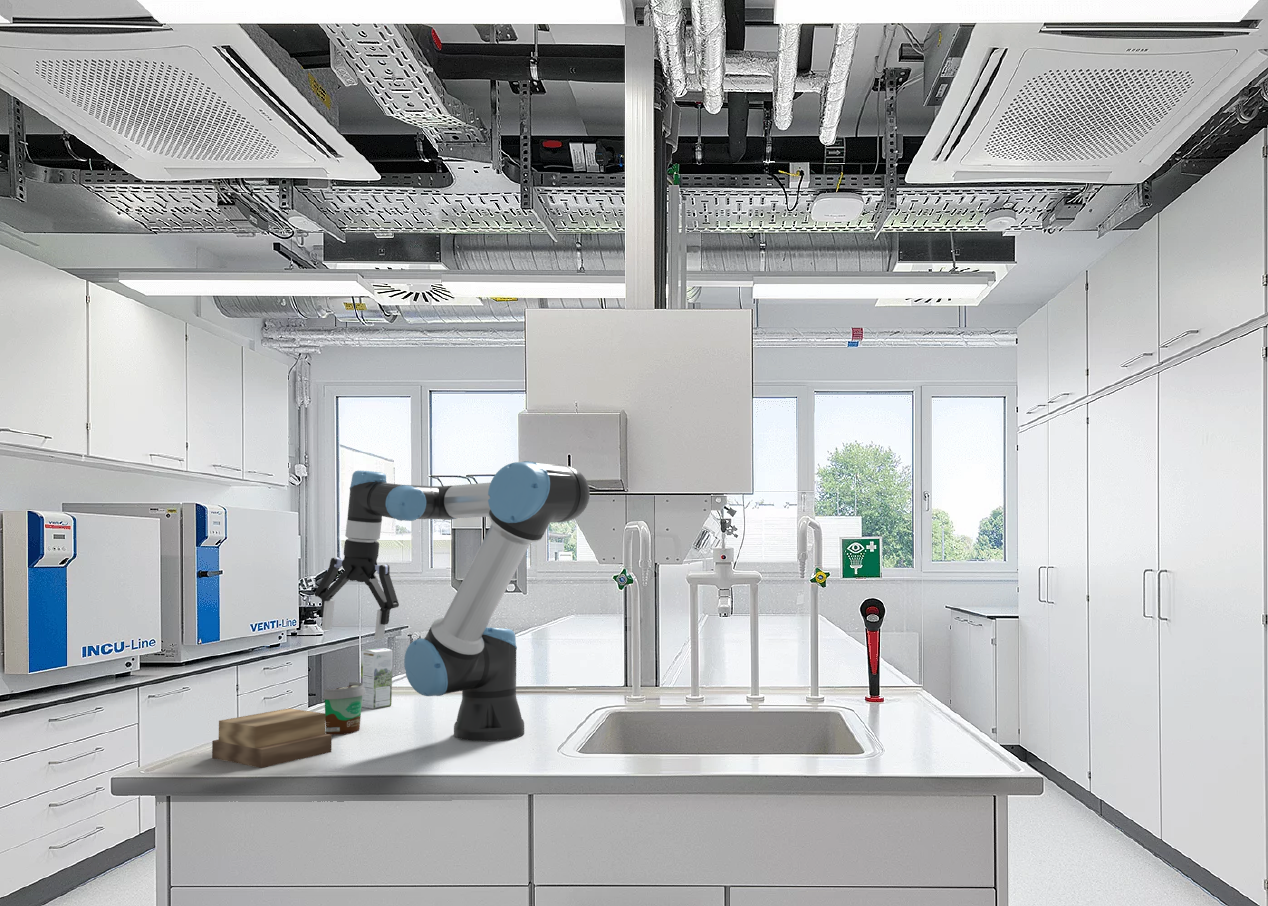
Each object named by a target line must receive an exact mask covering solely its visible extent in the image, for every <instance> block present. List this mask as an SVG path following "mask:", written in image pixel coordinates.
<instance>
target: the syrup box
mask: <svg viewBox="0 0 1268 906" xmlns="http://www.w3.org/2000/svg"><path fill="white" fill-rule="evenodd" d="M393 654H394V653H393V649H390V648H386V647H378V648H371V649H362V650H361V652H360V683H362V684H363V686H364V688H365V694H364V695H362V706H361V708H365V709H371V710H373V709H374V710H375V709H381V708H387V707H392V701H393V700H392V698H393V697H392V695H393V691H392V690H393Z"/></svg>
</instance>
